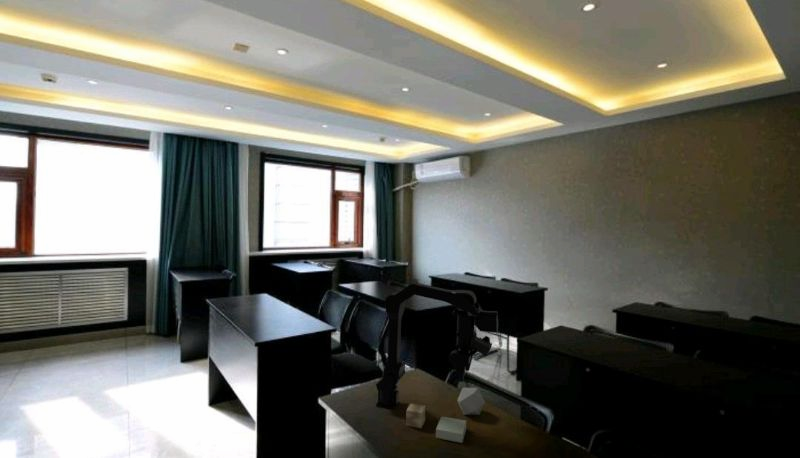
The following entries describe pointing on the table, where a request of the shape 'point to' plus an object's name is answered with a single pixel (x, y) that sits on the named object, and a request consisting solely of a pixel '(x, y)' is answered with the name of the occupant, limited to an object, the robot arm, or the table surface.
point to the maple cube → (415, 415)
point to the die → (471, 401)
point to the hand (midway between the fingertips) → (464, 375)
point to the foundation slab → (451, 429)
